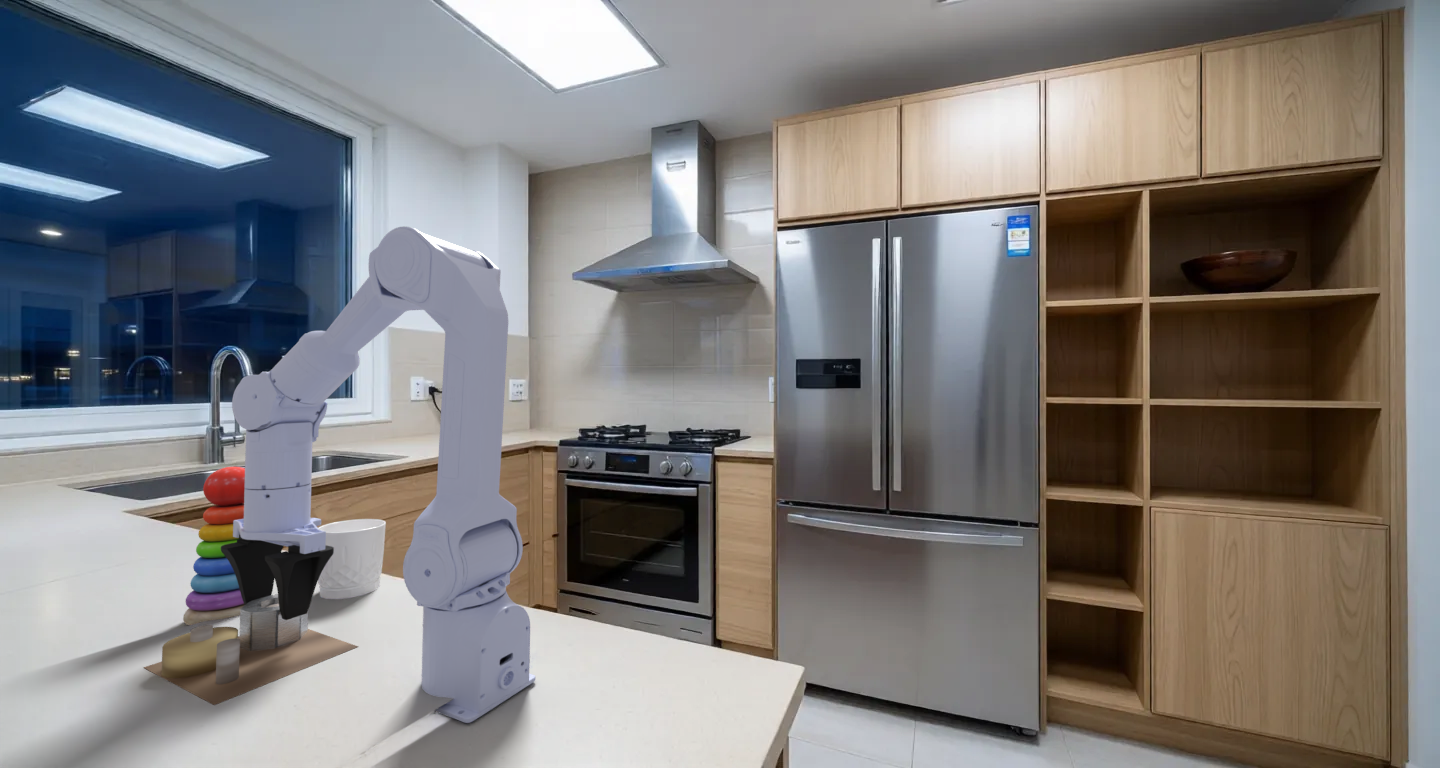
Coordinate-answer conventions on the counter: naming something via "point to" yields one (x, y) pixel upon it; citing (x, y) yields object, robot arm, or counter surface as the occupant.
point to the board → (263, 666)
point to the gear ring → (268, 625)
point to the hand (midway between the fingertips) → (275, 609)
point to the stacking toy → (217, 550)
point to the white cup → (353, 558)
